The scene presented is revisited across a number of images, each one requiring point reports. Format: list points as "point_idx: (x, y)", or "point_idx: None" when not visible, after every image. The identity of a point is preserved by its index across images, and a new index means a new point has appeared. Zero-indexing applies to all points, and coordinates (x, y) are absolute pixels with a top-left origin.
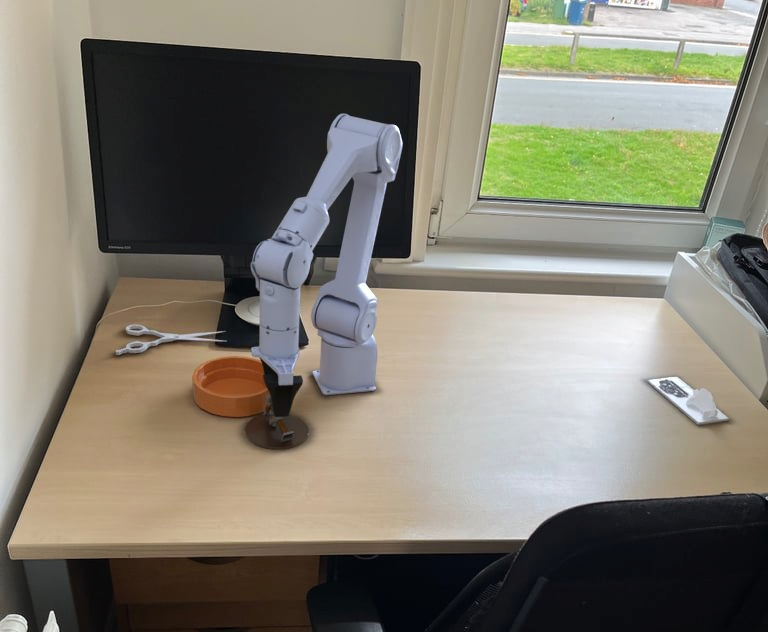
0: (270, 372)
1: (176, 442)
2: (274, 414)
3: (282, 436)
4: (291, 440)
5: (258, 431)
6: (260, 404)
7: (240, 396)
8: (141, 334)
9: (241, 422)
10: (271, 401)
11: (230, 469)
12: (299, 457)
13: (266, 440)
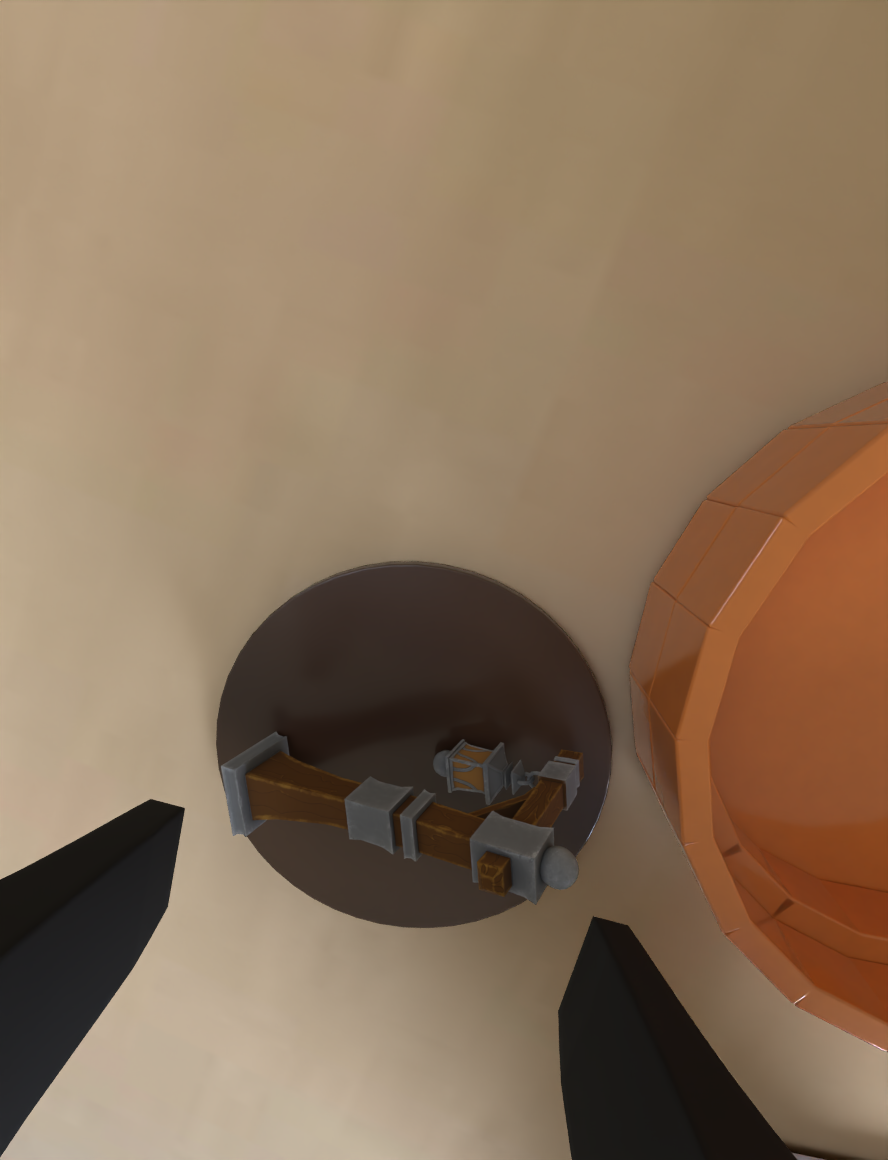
0: (646, 1153)
1: (538, 61)
2: (134, 809)
3: (253, 754)
4: None
5: (431, 650)
6: (650, 778)
7: (714, 671)
8: None
9: (597, 595)
10: (78, 885)
11: (114, 338)
12: (129, 759)
13: (316, 656)
